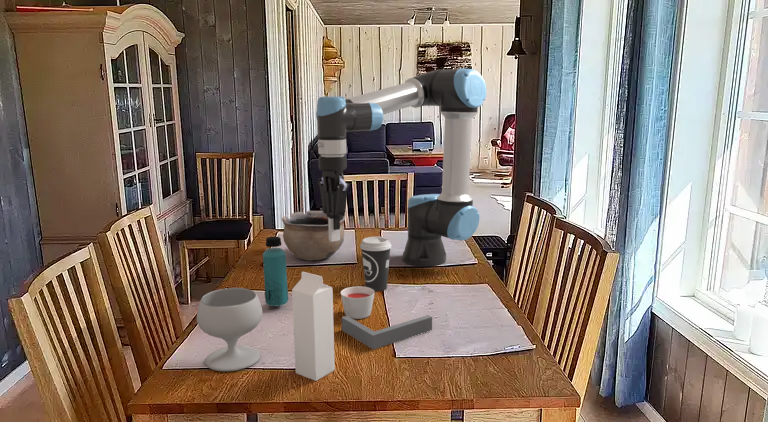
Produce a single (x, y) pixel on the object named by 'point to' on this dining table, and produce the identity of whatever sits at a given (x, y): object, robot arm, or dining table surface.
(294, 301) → the milk
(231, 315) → the chalice
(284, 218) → the ceramic bowl
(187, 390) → the dining table surface
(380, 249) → the coffee cup
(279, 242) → the beverage bottle
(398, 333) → the corner fence
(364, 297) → the candle
